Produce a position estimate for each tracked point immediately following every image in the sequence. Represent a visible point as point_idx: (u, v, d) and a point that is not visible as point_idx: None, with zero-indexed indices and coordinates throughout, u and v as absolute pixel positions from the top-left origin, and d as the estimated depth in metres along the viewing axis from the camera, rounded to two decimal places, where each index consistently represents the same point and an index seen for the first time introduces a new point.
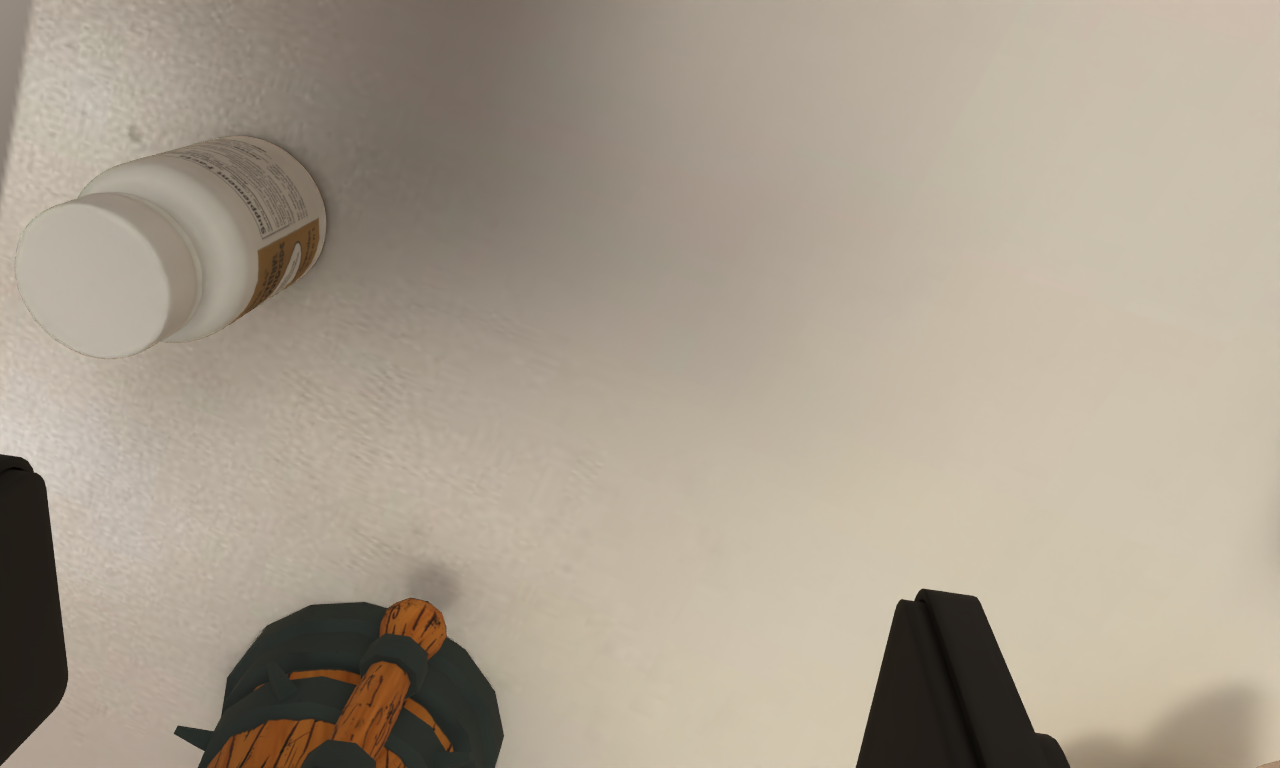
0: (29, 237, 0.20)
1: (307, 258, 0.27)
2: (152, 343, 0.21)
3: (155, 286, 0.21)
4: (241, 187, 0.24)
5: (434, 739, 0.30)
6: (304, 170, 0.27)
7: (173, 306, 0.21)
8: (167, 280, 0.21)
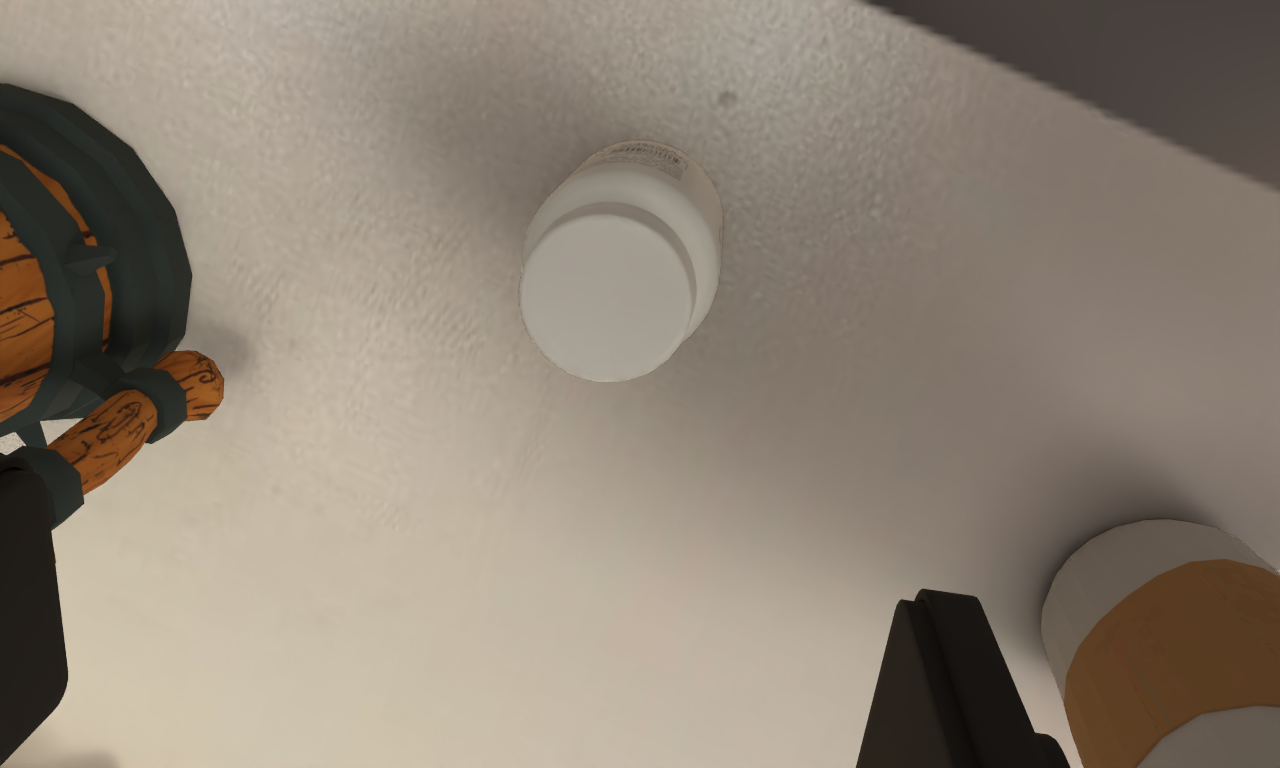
0: (655, 246, 0.19)
1: None
2: (539, 349, 0.20)
3: (603, 371, 0.20)
4: None
5: (53, 414, 0.26)
6: None
7: (581, 377, 0.20)
8: (610, 382, 0.20)
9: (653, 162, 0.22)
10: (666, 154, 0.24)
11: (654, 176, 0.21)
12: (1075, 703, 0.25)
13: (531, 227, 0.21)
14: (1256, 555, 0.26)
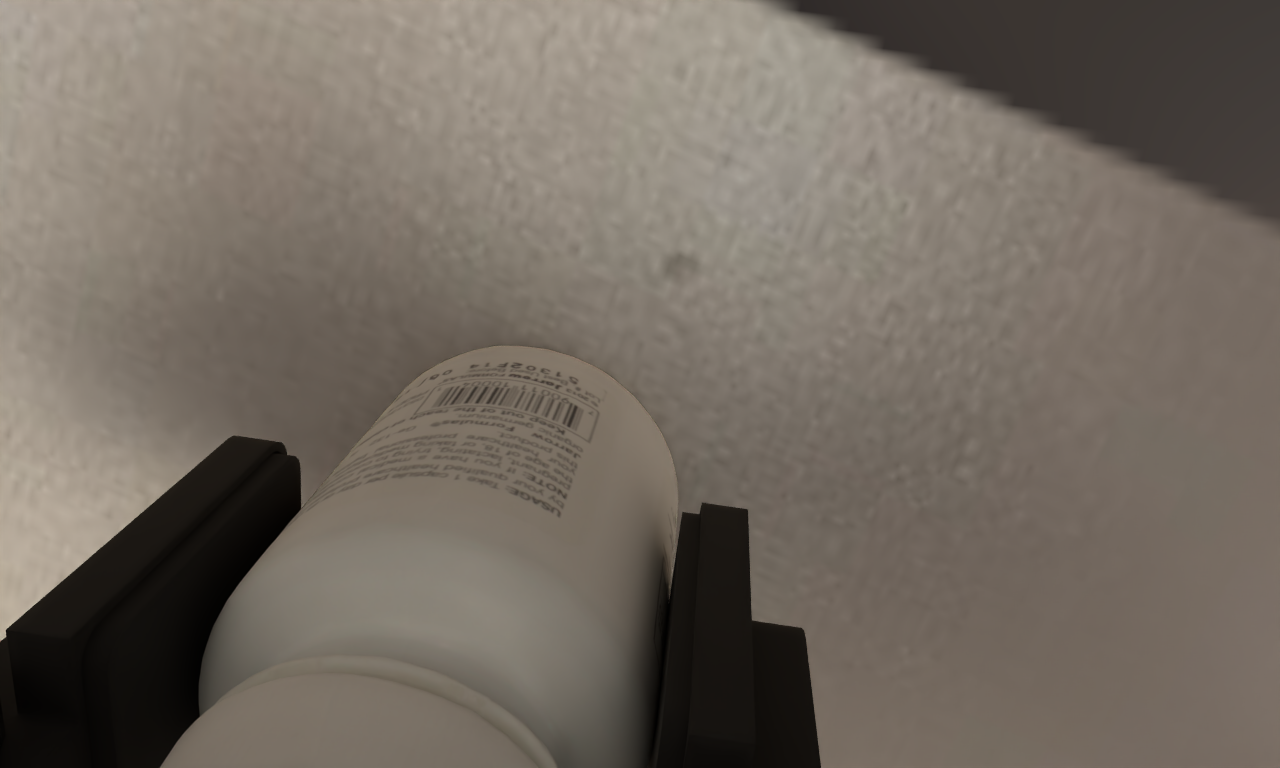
0: None
1: None
2: None
3: None
4: None
5: None
6: None
7: None
8: None
9: (507, 458, 0.10)
10: (553, 400, 0.12)
11: (489, 538, 0.09)
12: None
13: (209, 644, 0.09)
14: None
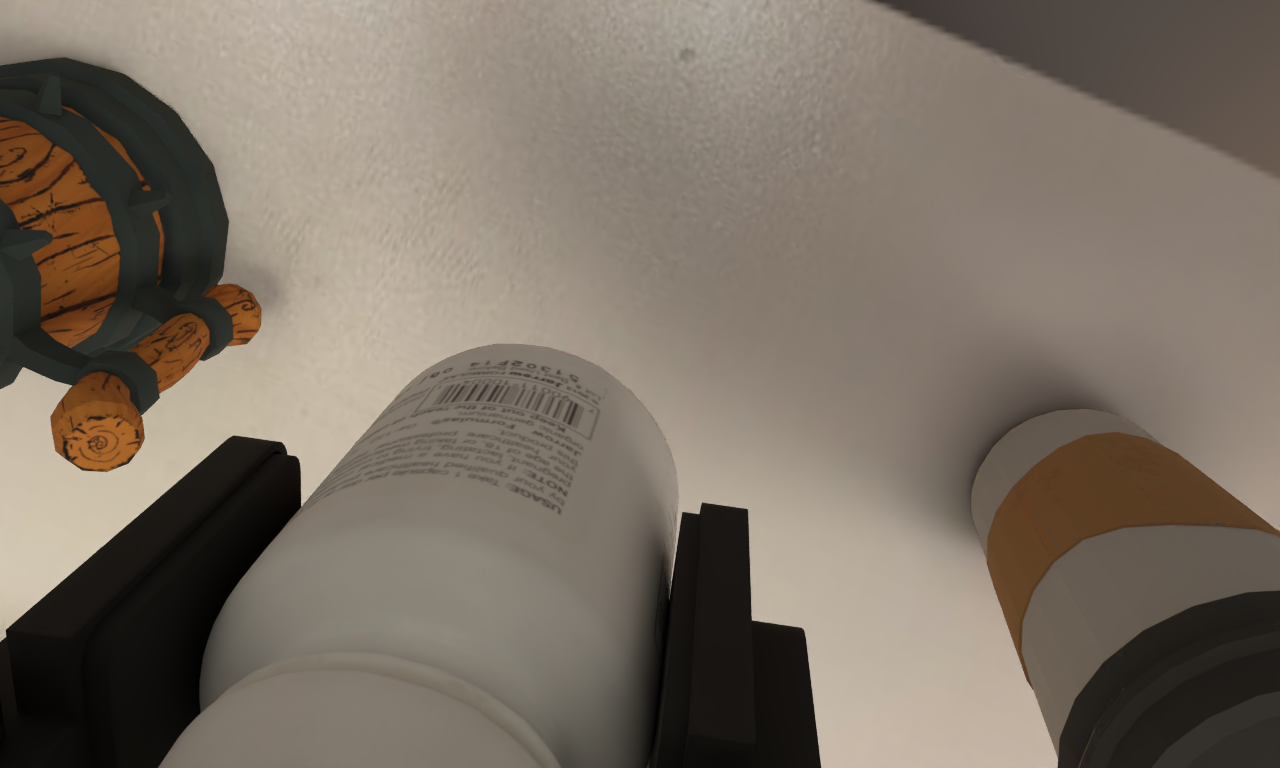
0: None
1: None
2: None
3: None
4: None
5: (115, 342, 0.30)
6: None
7: None
8: None
9: (508, 456, 0.10)
10: (553, 398, 0.12)
11: (490, 534, 0.09)
12: (993, 557, 0.29)
13: (209, 641, 0.09)
14: (1146, 433, 0.31)
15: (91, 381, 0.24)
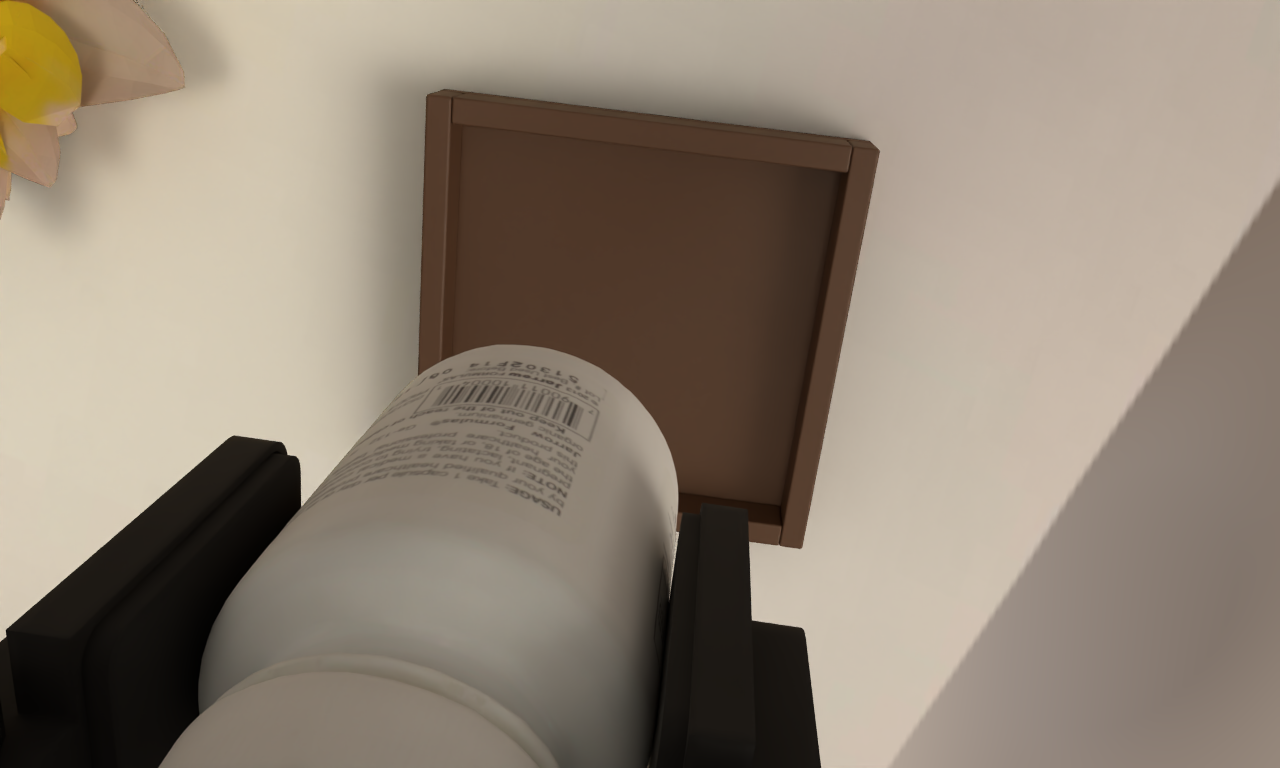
0: None
1: None
2: None
3: None
4: None
5: None
6: None
7: None
8: None
9: (507, 457, 0.10)
10: (553, 399, 0.12)
11: (490, 535, 0.09)
12: None
13: (207, 643, 0.09)
14: None
15: None
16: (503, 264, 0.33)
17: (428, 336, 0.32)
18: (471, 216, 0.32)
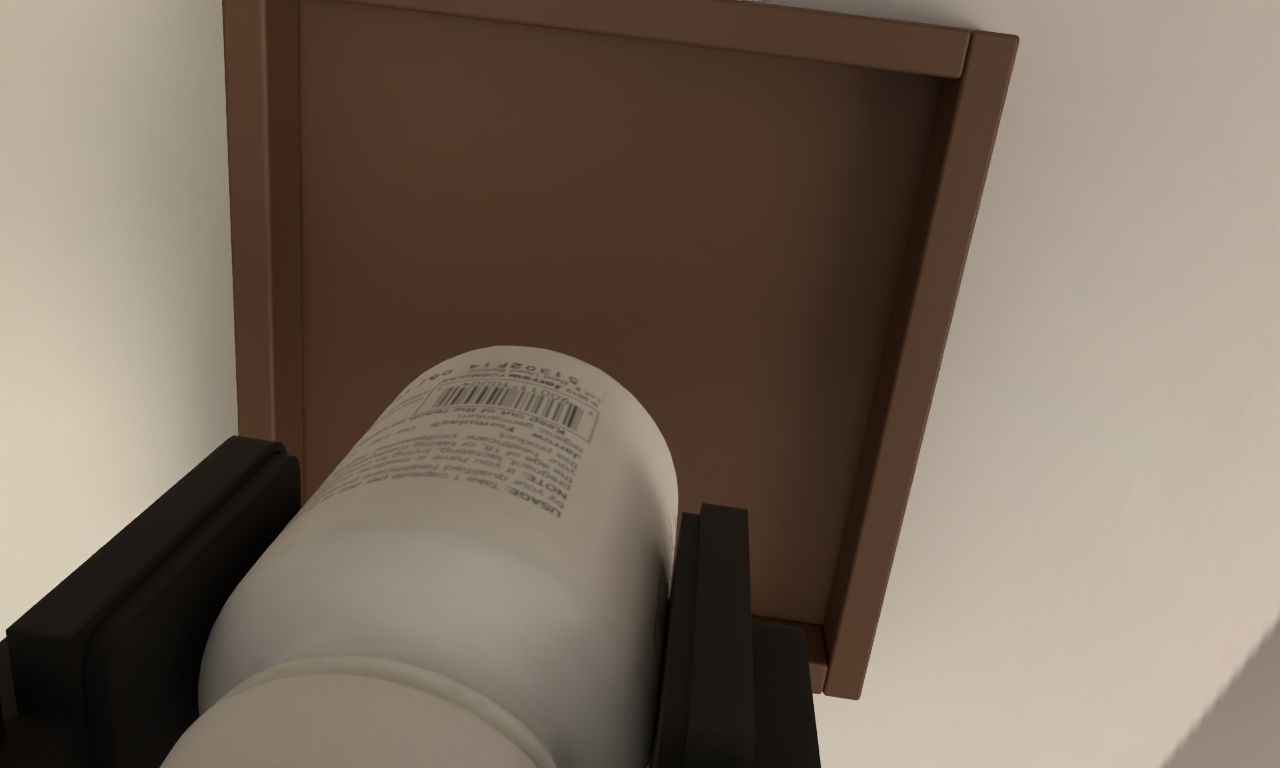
0: None
1: None
2: None
3: None
4: None
5: None
6: None
7: None
8: None
9: (507, 459, 0.10)
10: (553, 401, 0.12)
11: (490, 538, 0.09)
12: None
13: (207, 645, 0.09)
14: None
15: None
16: (377, 241, 0.20)
17: (250, 359, 0.19)
18: (322, 161, 0.19)
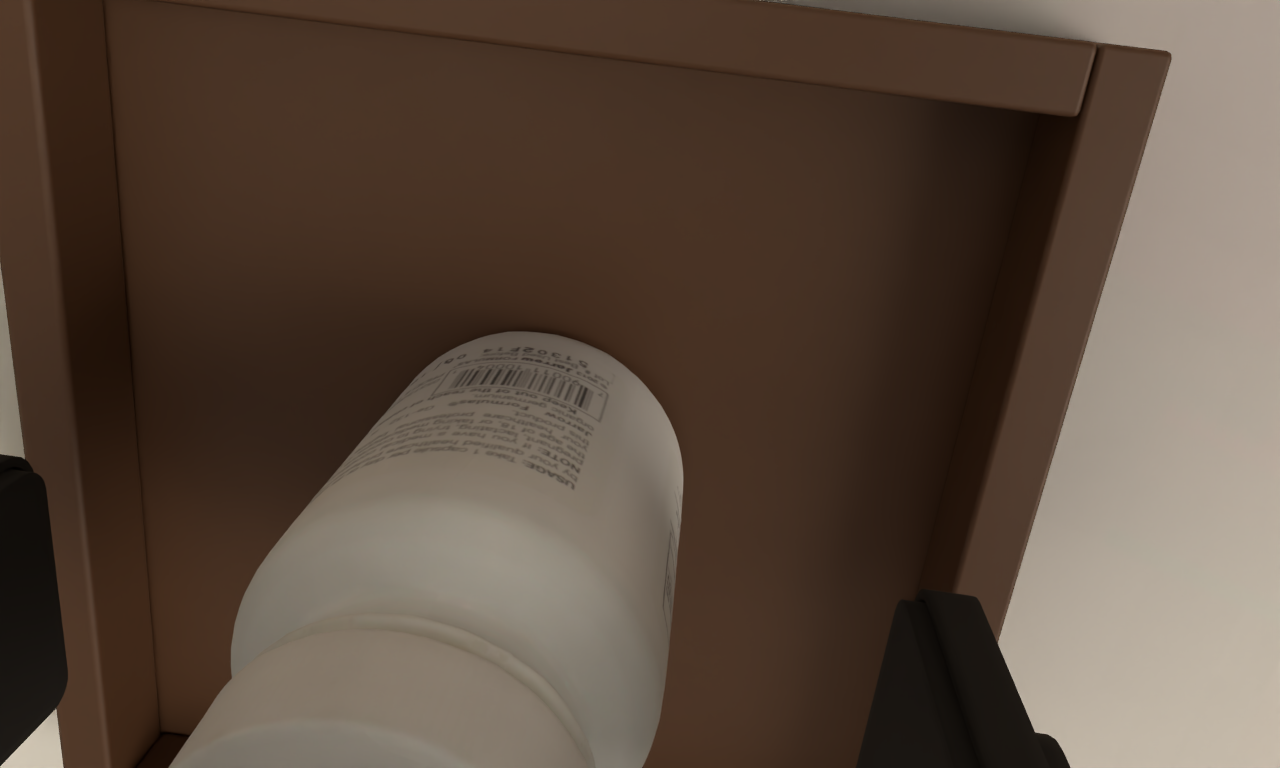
0: None
1: None
2: None
3: None
4: None
5: None
6: None
7: None
8: None
9: (523, 435, 0.10)
10: (564, 382, 0.12)
11: (508, 507, 0.09)
12: None
13: (241, 609, 0.10)
14: None
15: None
16: (234, 335, 0.14)
17: (50, 505, 0.14)
18: (152, 226, 0.14)
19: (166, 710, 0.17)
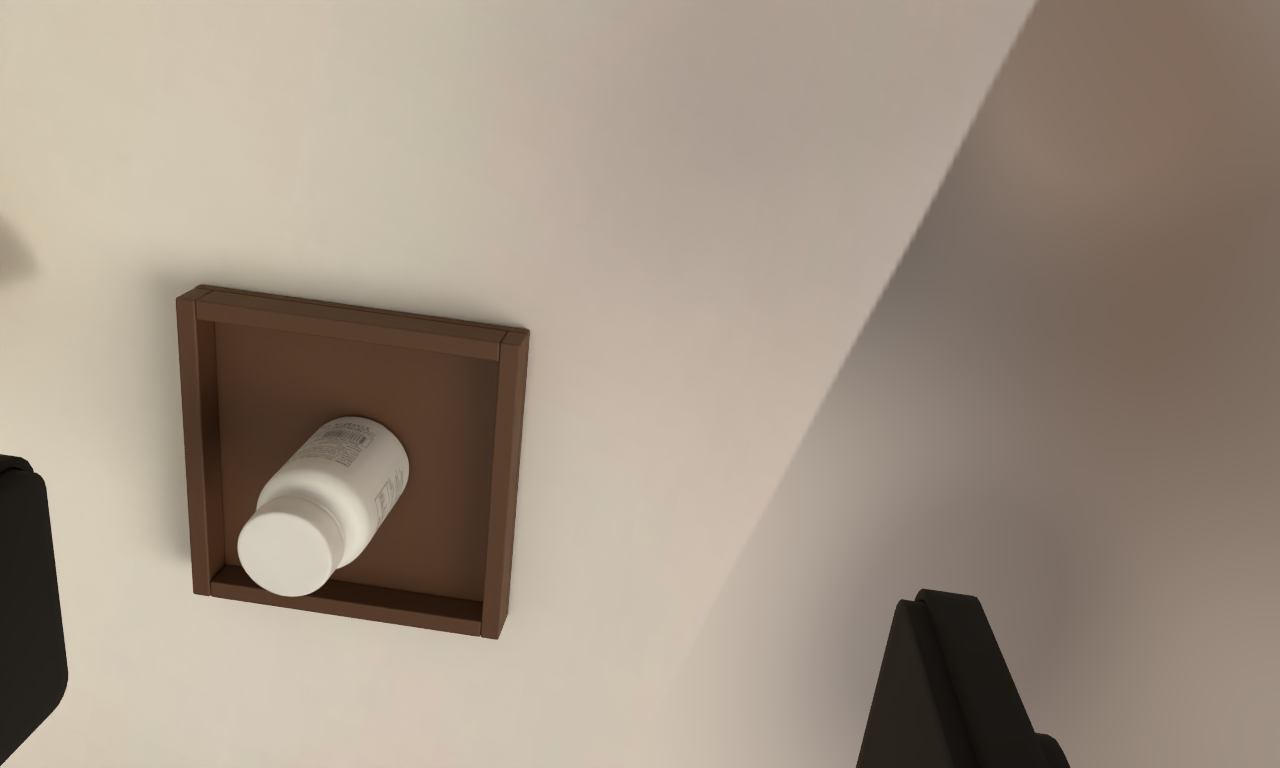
0: (306, 529, 0.34)
1: None
2: (252, 578, 0.35)
3: (288, 591, 0.35)
4: None
5: None
6: None
7: (278, 592, 0.35)
8: (293, 596, 0.35)
9: (337, 452, 0.37)
10: (357, 435, 0.39)
11: (326, 471, 0.36)
12: None
13: None
14: None
15: None
16: (254, 416, 0.41)
17: (193, 474, 0.41)
18: (227, 380, 0.41)
19: (227, 555, 0.44)
